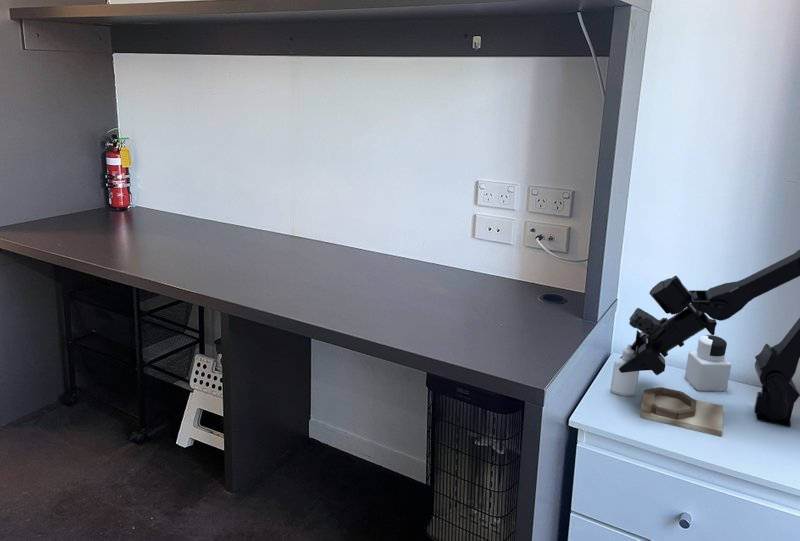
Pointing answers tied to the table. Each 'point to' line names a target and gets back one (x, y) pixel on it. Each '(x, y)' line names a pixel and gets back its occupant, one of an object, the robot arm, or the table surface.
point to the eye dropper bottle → (624, 376)
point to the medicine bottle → (708, 365)
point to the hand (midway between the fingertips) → (620, 365)
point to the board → (695, 423)
